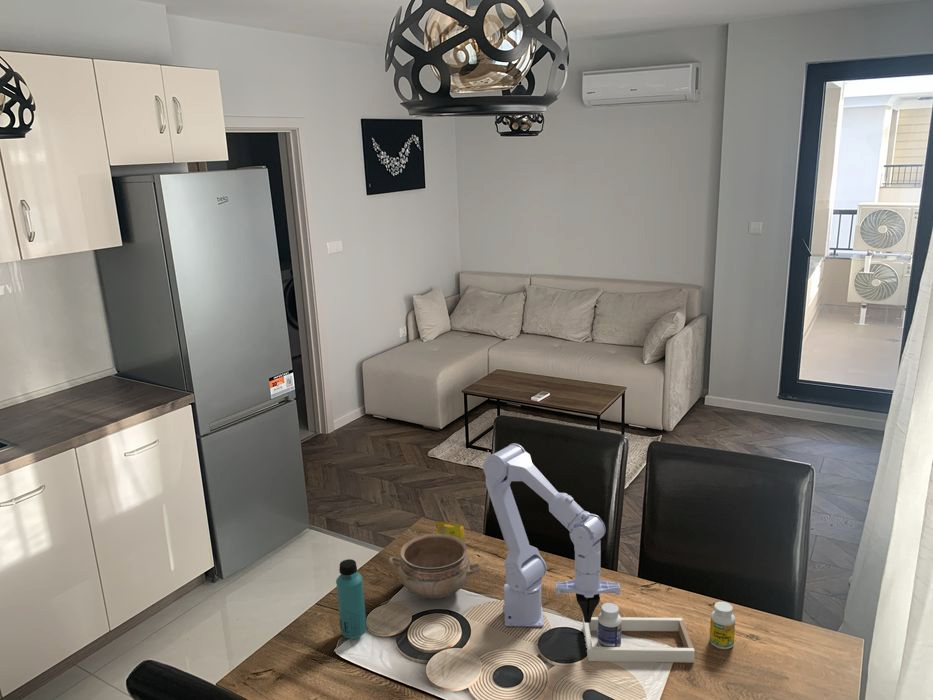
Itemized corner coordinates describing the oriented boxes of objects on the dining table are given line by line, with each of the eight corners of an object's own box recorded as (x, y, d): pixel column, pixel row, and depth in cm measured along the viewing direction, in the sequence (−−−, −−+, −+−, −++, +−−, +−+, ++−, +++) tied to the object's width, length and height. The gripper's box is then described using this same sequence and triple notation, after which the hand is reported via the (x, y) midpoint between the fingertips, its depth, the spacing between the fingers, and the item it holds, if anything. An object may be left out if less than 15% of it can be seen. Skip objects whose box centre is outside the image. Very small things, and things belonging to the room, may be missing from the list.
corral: (588, 661, 160) (588, 649, 159) (583, 627, 171) (583, 617, 170) (694, 662, 158) (694, 650, 157) (681, 628, 170) (682, 617, 169)
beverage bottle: (372, 630, 173) (366, 557, 168) (359, 647, 167) (353, 572, 162) (348, 625, 175) (342, 553, 170) (335, 642, 169) (328, 567, 164)
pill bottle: (621, 653, 162) (622, 615, 160) (597, 650, 163) (597, 613, 161) (620, 638, 167) (621, 601, 165) (597, 635, 168) (598, 599, 166)
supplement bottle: (733, 637, 166) (735, 601, 164) (734, 652, 161) (737, 615, 159) (709, 633, 168) (711, 598, 165) (709, 648, 163) (711, 611, 160)
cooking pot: (488, 575, 195) (486, 535, 192) (475, 617, 177) (473, 573, 174) (401, 568, 200) (398, 529, 197) (380, 608, 182) (376, 565, 179)
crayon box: (465, 556, 204) (464, 520, 202) (462, 562, 202) (460, 525, 199) (442, 552, 207) (440, 516, 204) (438, 557, 204) (436, 521, 202)
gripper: (556, 577, 157) (556, 630, 160) (622, 577, 156) (621, 631, 159) (554, 560, 164) (554, 611, 167) (617, 560, 163) (616, 612, 166)
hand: (587, 620), depth 164 cm, fingers closed
